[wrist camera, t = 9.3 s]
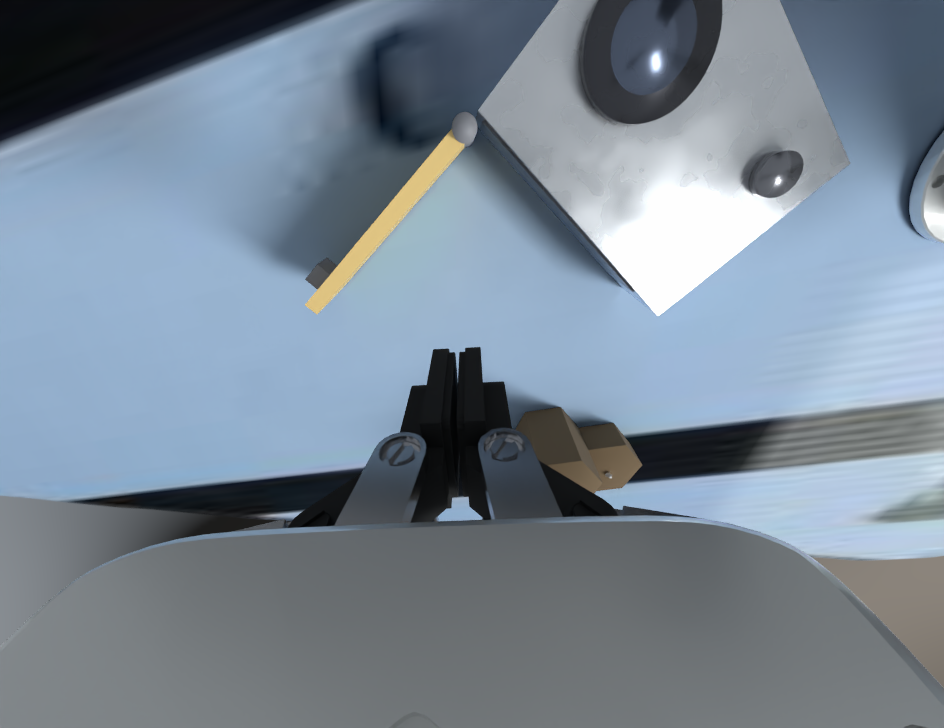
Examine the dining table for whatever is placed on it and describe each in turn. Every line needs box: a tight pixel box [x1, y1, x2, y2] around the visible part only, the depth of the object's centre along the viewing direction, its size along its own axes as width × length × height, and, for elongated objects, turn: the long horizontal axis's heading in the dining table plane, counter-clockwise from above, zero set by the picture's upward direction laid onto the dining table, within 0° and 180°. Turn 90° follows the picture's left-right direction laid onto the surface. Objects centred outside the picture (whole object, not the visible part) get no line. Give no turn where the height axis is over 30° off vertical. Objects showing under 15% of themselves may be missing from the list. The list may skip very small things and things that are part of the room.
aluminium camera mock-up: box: [476, 0, 850, 316], centre depth 21 cm, size 18×13×8 cm
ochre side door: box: [305, 112, 477, 314], centre depth 24 cm, size 16×2×7 cm, turn 134°
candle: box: [515, 407, 642, 493], centre depth 35 cm, size 14×14×15 cm
